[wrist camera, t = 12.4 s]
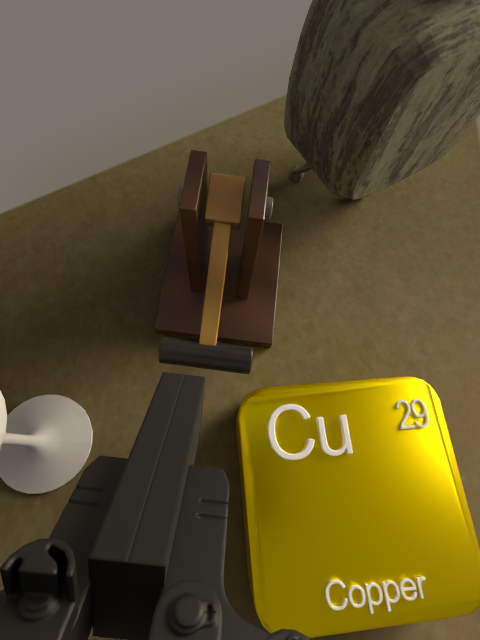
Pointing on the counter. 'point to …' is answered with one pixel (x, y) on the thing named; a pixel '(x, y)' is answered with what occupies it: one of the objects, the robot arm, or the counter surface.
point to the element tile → (353, 507)
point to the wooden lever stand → (241, 270)
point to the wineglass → (43, 443)
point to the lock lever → (214, 287)
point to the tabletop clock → (381, 89)
